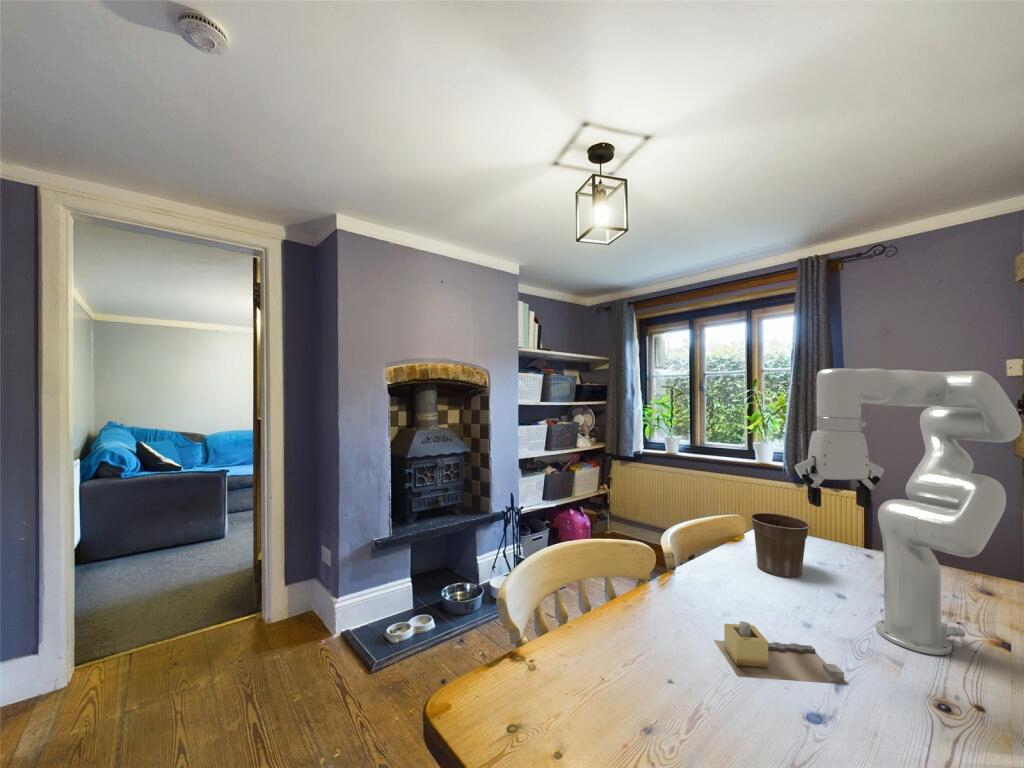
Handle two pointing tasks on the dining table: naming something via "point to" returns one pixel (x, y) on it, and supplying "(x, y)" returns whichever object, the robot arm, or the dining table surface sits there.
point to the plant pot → (780, 543)
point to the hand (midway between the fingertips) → (838, 506)
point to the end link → (746, 646)
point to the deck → (787, 663)
